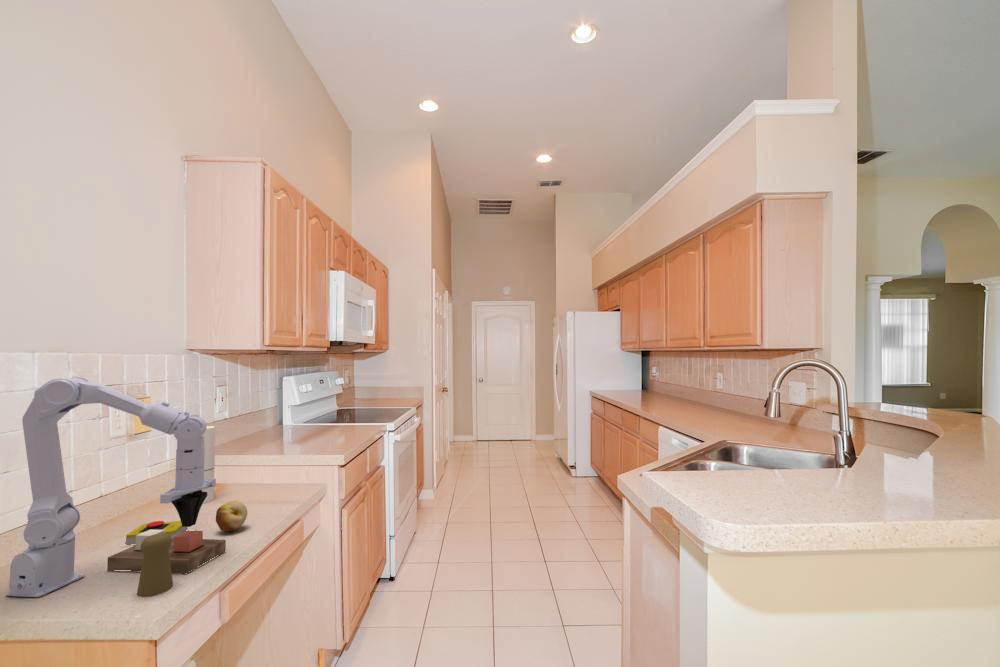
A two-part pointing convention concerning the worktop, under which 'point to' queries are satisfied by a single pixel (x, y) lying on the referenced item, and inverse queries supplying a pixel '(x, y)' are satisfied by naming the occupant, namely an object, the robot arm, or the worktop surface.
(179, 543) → the salmon red square block
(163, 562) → the olive tall tapered piece
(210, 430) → the cylindrical container
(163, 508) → the worktop surface
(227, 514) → the fruit
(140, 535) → the off-white plunger
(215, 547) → the walnut plunger housing
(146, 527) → the emergency button
